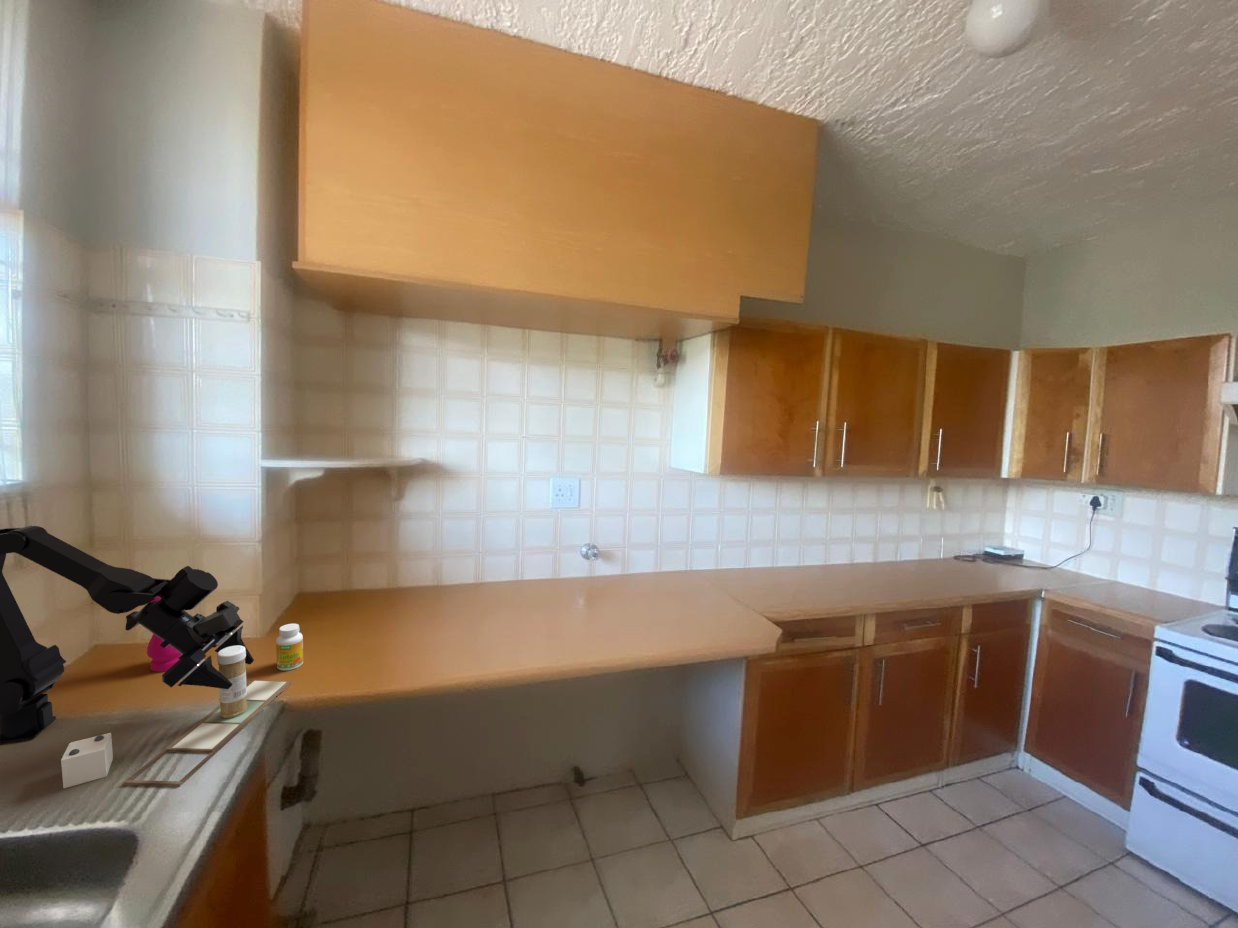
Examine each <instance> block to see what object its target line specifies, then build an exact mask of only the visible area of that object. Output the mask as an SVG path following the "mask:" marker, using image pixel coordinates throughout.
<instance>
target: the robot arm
mask: <svg viewBox="0 0 1238 928" xmlns="http://www.w3.org/2000/svg"><path fill="white" fill-rule="evenodd" d="M12 553H13V554H17V555H20V556H21V557H24V558H25V559H27V560H30V561H31V562H32V563H35V564H37V565H39V566H41V567H43V568H45V569H47V570H49V571H50V572H52V573H55V574H57V575H58V576H61V577H63V578H64V579H67V580H68V581H71V582H72V583H74V584H76V585H79V586H80V587H82V588H83V589H85V590H86V591H87V593H88V594H89V597H90V599H91V600H92V601H93V602H94V603H95V604H97V605H98V606H100V607H102V609H104V610H106V611H107V612H108V613H111V614H117V615H120V614H126V613H128V612H130V613H129V614H127V615H125V619H126V622H125V630H126V631H131V630H133V628H135V627H136V626H138V625H141V626H142V627H143V628H145V629H146V630H148V631H149V632H151V633H152V635H153V634H155V635H156V636H157V637H160V639H162V640H163V642H162V643H161V644H160V646H161V647H163V648H165V647H166V646H168V645H170V646H171V647H173V648H174V649H176V650H177V651H178V652H180V653H181V654H183V655H181V656H180V657H179V658H178V659H180V660H178V661H177V662H176V663H175V664H174V665H173V666H172V667H171V668H169V669H168V670H167V671H164V673H162V675H161V677H162V678H161V680H162V683H163V684H165V685H167V686H168V687H169V688H173V687H174V686H175V685H177V686H178V687H181V686H195V687H197V686H198V687H208V688H214V689H219V688H221V689H229V688H230V687H231V686H232V683H231V682H230V681H229V680H228V679H227V678H226V677H225V676H223V675H222V674H221V673H220V672H219V669H217V668H216V667H214V666H213V663H212V661H213V660H212V655H209V656H207V655H206V654H207V653H208V652H209V651H210V650H211V649H212V648H214V649H215V648H216V647H217V648H216V649H215V650H214V652H216V653H218V652H219V651H220V650H222V649H224V648H226V647H230V646H237V645H239V646H244V647H245V649H246V657H245V665H246V664H247V665H251V664H253V662H255V659H254V658H253V656H252V655H251V653H250V651H249V649H248V648H247V646H246V644H245V643H244V641H243V639H242V631H243V629H244V626H243V625H242V624H243V623H244V620H242V619H241V617H240V615H239V613H238V612H239V611H240V607H239V606H238V605H237V606H236V605H235V604H234V603H232V602H231V601H229V600H226V601H224V602H221V603H220V604H218V605H217V606H216V607H215V608H216V609H215V610H216V611H215V612H212V613H211V614H210V615H207V616H204V615H203V614H201V613H196V614H195V615H194V616H193V615H192V614H190V613H189V612H187V611H191V610H193V609H195V608H196V607H198V605H200V604H201V602H203V601H204V600H205V599H206V598H208V596H209V595H210V594H211V593H213V592H214V591H215V590H217V589H218V586H219V584H218V580H217V578H215V576H214V575H212V573H210V572H209V571H207V572H206V571H204V570H202V569H198V568H197V569H196V568H192V567H191V566H189V565H185V566H183V568H181V569H180V570H179V571H177V573H176V574H175V575H174V576H173V577H172V578H171V579H168V578H167V579H164V578H154V577H152V576H150V575H148V574H146V573H143V572H140V571H138V570H134V569H131V568H126V567H118V566H114V565H110V564H107V563H105V562H104V561H101V560H100V559H98V558H96V557H94V556H93V555H91V554H89V553H86V552H85V551H83V550H81V549H79V548H77V547H75V546H73V545H71V544H69V543H68V542H66V541H64V540H62V539H60V538H58V537H56V536H55V535H52V534H50V533H49V532H48V531H47V530H46V528H45V527H42V526H40V525H38V526H37V525H27V526H23V527H6V528H0V744H6V743H8V744H9V743H15V742H22V741H29V740H33V739H36V737H38V736H39V735H40V734H41V733H43V731H44V730H46V728H48V727H49V726H50V725H51V724H52V723H54V721H56V720H57V716H56V715H54V714H53V703H52V701H49V695H48V693H46V692H47V691H49V690H51V689H52V688H54V687H55V684H56V682H57V681H58V680H59V679H60V678H61V677H62V675H63V673H65V666H64V664H66V663H67V660H65V659H64V658H63V657H62V655H61V652H60V648H59V647H58V645H56V644H53V645H51V646H49V647H47V646H45V645H43V644H41V643H39V642H37V641H36V638H35V637H34V635H33V633H32V631H31V629H30V627H29V625H28V622H27V620H26V619H25V616H24V615H23V613H22V611H21V609H20V606H19V604H18V602H17V601H16V597H15V596H14V594H13V591H11V588H10V586H9V584H8V582H7V580H6V578H5V576H4V573H3V570H4V565H5V561H6V557H7V554H12ZM157 597H160V598H162V599H160V600H159V601H153V602H151V601H152V600H154V599H155V598H157ZM149 602H150V603H149ZM141 606H143V607H142V608H141V609H140V610H139V611H137V610H136V611H133V610H135V609H137V608H138V607H141ZM131 611H132V612H131ZM237 628H238V629H237ZM206 657H207V658H206ZM181 679H182V681H181ZM179 681H181V682H179ZM178 682H179V683H178Z"/></svg>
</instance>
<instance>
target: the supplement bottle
mask: <svg viewBox="0 0 1238 928" xmlns="http://www.w3.org/2000/svg"><path fill="white" fill-rule="evenodd" d="M278 630H279V631H278V632H279V636H278V637H277V638H276V641H275V651H276V668H277V669H278V670H279V671H283V672H286V671H291V670H294V669H298V668H299V667H301V666H302V665H303V663H304V638H303V637H304V636H303V634H302V632H300V625H299V624H298V623H288V624H287V623H286V624H284V625H282V626H280V627H279V629H278Z"/></svg>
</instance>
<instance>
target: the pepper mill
mask: <svg viewBox="0 0 1238 928" xmlns="http://www.w3.org/2000/svg"><path fill="white" fill-rule="evenodd" d="M160 599H162V598H160V597H157V598H155V599H154V600H152V601H151V602H153V601H159V600H160ZM149 603H150V602H149ZM162 642H163V640H162V639H160V637H157V636H156V635H155V634H153V633H152V635H151V637H150V639H149V642H148V644H147V647H146V655H147V656H148V658H150V659H151V661H150V670H151V671H152V672H156V673H157V672H158V673H161V672H162V673H163V672H166V671H167V670H168V669H169V668H171V667H172V666H173V665H174V664H175V663H176V662H177V661H178V660H180V659H178V658H179V657H180V656H181V655H183V654H181V653H180V652H178V651H177V650H176V649H174V648H173V647H171V646H170V645H168V646H166V647H165V648H163V647H161V646H160V644H161V643H162Z"/></svg>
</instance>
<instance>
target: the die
mask: <svg viewBox="0 0 1238 928" xmlns="http://www.w3.org/2000/svg"><path fill="white" fill-rule="evenodd" d="M112 743H113V740H112V732H108V733H103V734H100V735H96V736H91V737H87V738H84V739H79V740H76V741H75V740H74V741H72V742H69V744H68V745H67V747H66V749H65V751H64V753H63V755H62V758H61V759H60V764H61V766H60V767H61V773H62V774H61V775H62V786H63V789H66V788H67V789H68V788H71V787H75V786H78V785H81V784H86V783H88V782H91V781H95V780H99V779H103V778H107V776H108V773H109V770H110V769H111V765H112V762H113V759H114V755H113V754H114V753H113V744H112Z"/></svg>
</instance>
